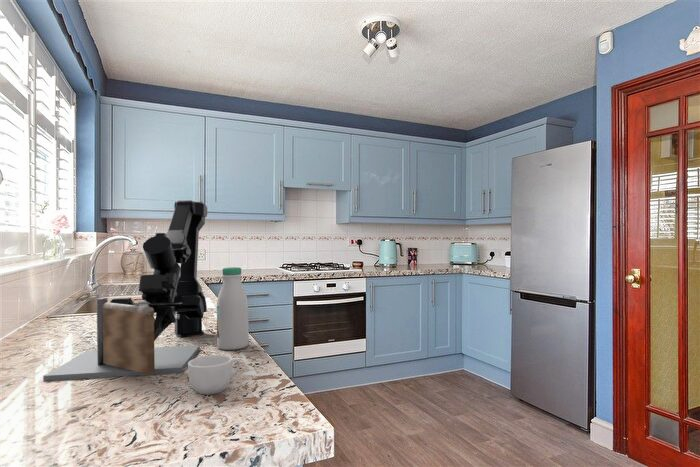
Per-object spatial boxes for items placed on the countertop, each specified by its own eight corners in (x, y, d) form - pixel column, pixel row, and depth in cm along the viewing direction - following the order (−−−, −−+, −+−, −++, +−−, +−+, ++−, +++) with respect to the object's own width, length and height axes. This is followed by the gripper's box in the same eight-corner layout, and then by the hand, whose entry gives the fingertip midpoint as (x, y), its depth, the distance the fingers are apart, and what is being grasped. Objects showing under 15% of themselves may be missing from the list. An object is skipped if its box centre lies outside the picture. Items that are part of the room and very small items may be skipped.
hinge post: (107, 361, 91) (106, 297, 91) (109, 364, 89) (108, 298, 89) (96, 363, 89) (96, 298, 89) (98, 365, 88) (97, 299, 88)
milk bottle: (255, 344, 107) (253, 266, 107) (234, 352, 100) (233, 269, 100) (231, 341, 111) (230, 266, 111) (210, 349, 104) (209, 268, 104)
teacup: (201, 402, 70) (201, 370, 70) (180, 391, 75) (179, 361, 75) (251, 385, 78) (251, 356, 78) (229, 376, 83) (228, 349, 83)
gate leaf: (103, 363, 88) (102, 302, 88) (110, 361, 89) (109, 301, 89) (147, 374, 80) (146, 307, 80) (154, 371, 82) (153, 306, 82)
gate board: (200, 349, 104) (199, 345, 104) (181, 372, 86) (181, 367, 86) (87, 355, 100) (87, 351, 100) (43, 380, 82) (43, 375, 82)
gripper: (110, 261, 90) (87, 323, 79) (200, 259, 93) (189, 319, 82) (125, 292, 98) (105, 352, 87) (207, 289, 101) (198, 347, 90)
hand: (149, 342), depth 86 cm, fingers closed
